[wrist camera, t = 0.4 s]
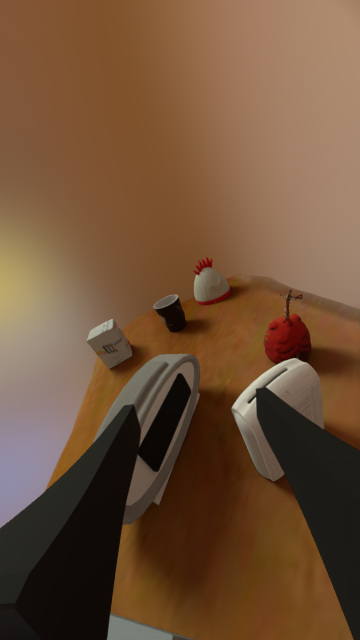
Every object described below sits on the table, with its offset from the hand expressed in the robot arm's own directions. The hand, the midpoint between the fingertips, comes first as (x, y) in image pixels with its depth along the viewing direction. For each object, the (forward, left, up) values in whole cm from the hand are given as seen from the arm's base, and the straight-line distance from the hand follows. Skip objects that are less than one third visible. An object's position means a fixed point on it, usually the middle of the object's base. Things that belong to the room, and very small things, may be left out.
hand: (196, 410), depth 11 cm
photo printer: (+8, -5, -20) cm, 22 cm away
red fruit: (+23, -10, -20) cm, 31 cm away
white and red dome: (+63, +5, -20) cm, 66 cm away
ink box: (+37, +37, -20) cm, 56 cm away
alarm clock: (+10, +12, -20) cm, 25 cm away
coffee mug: (+45, +17, -20) cm, 52 cm away
